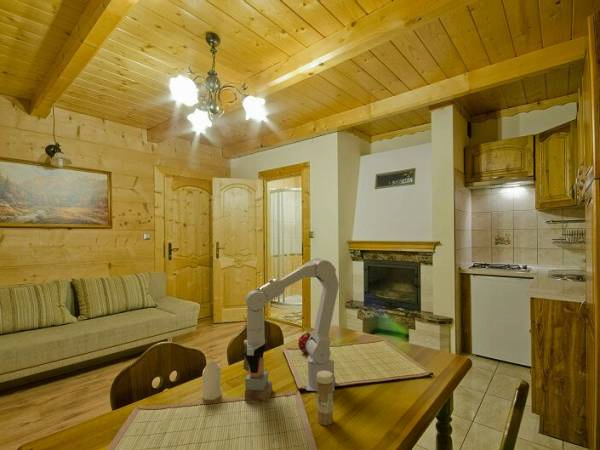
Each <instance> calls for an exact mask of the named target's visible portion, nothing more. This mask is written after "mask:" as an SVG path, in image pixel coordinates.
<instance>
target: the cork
mask: <svg viewBox="0 0 600 450" xmlns="http://www.w3.org/2000/svg"><path fill="white" fill-rule="evenodd" d="M245 340H247V338H246V339H245ZM243 346H244V348H245V350H247V344H244V343H243ZM245 350H244V351H245ZM243 358H244V359H243V366H242V367H243V369H244V370H246V371H249V363H248V361H247V359H246V357H245V355H244V357H243Z"/></svg>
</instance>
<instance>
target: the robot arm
mask: <svg viewBox="0 0 600 450" xmlns="http://www.w3.org/2000/svg"><path fill="white" fill-rule="evenodd" d="M336 271H337V269H336V267H335V266H334V265H333V263H332V262H331V261H330V260H327V259H325V260H324V259H321V258H313V259H312V260H310V261H307V262H305V263H304V264H302V265H301V266H298V268H296V269H294V270H293V271H291V272H290V273H288V274H287V275H285V276H284V277H282V278H281V279H279V278H274V279H273V278H270V279H267V280H268V282H267V283H265V284H263V285H262V286H257V287H256V288H255V289H256V290H254V289H253V290H250V291H249V292H248V293H247V295H245V298H244V301H245V304H246V305H247V306H246V307H247V308H246V339H247V340H246V339H244V341H243V345H244V344H247V350H244V351H243V352H244V353H243V355H244V356H245V357H246V359H247V361H248V363H249V367H250V371H251V373H257V372H258V368H259V360H260V357H263V358H264V353H265V350H266V347H267V344H268V342H266V339H265V314H264V307H265V305H266V304H268V303H270V302H271V301H273V300H275V299H277V298H278V297H279V296H281V295H284V292H285V290H286V288H287V287H289V286H291V285H293V284H295V283H297V282H299V281H301V280H303V279H304V278H316V279H317V280H318V281H319V283H320V284H321V286H322V292H321V296H320V301H319V305H318V310H317V315H316V319H315V323H314V328H313V330H312V331H311V332H310V334H311V335H310V338H309V339H308V341H307V342H306V350H307V352H308V353H309V354H308V356H307V382H306V387H308V388H306V387H305V389H306V390H305V391H307V392H318V390H317V373H318V372H319V371H329V372H331V373H332V376H333V381H332V392H333V393H334V392H335V383H336V376H335V360H332V359H330V358H331V350H330V349H331V348H330V346H331V340H330V336H329V333H330V329H331V324H332V319H333V315H334V310H335V305H336V300H337V295H338V292H339V291H338V290H339V284H340V283H339V280H338V276H337V273H336Z"/></svg>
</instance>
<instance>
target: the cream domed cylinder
mask: <svg viewBox="0 0 600 450" xmlns="http://www.w3.org/2000/svg"><path fill="white" fill-rule="evenodd" d="M201 379H202V383H201V384H202V385H201V386H202V399H203V400H205V401H214V400H216V399H218V398H219V397H221V395H222V388H221V387H222V385H221V384H222V383H221V381H222V370H221V366H220V365H219V364H218V362H216V361H215V360H213V361H212V360H209V361H207V362H206V365H205V367H204V368H203V370H202V378H201Z"/></svg>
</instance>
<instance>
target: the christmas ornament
mask: <svg viewBox="0 0 600 450" xmlns="http://www.w3.org/2000/svg"><path fill="white" fill-rule="evenodd" d="M310 335H311V332H310V331H308V330H306V333H304V334H302V335H301V336H300V337H299V339H298V343H297V344H298V348H299V350H300V351H301V352H302V353H304V354H306V355H309V353H308V352H307V350H306V342H307V341H308V339H309V338H310Z"/></svg>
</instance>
